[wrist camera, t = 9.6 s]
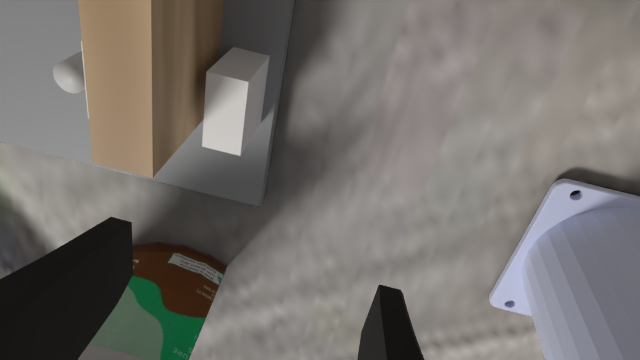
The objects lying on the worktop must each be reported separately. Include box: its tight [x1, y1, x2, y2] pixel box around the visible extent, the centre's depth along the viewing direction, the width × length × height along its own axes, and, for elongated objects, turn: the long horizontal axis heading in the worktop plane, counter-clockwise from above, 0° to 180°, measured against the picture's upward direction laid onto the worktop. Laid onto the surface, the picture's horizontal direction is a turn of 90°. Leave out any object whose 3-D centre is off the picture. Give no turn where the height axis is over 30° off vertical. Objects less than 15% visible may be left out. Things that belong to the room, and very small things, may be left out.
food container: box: [78, 242, 227, 360], centre depth 24 cm, size 12×6×10 cm, turn 139°
